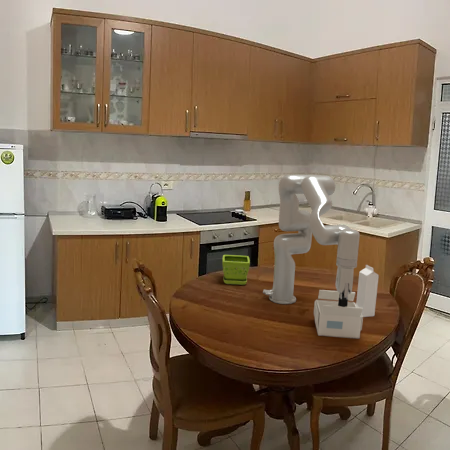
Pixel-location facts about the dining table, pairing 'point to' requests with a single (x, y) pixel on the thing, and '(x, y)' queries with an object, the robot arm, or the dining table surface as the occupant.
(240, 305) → the dining table surface
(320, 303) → the carton
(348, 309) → the flap near
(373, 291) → the milk
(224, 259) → the flower pot
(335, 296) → the flap far
